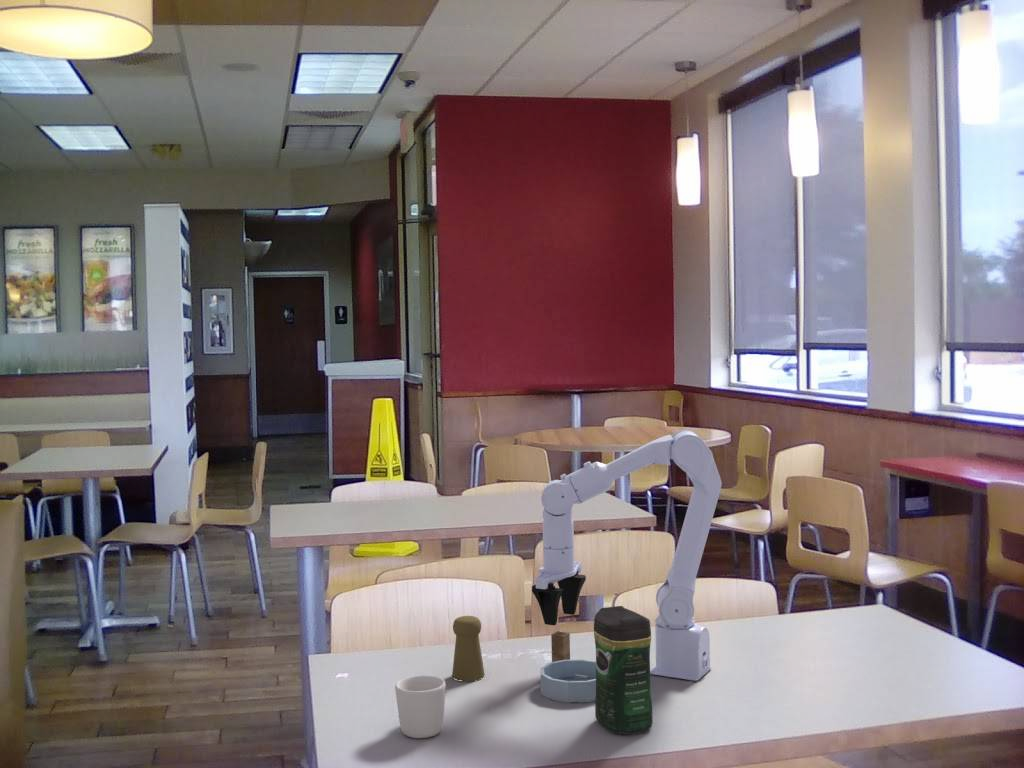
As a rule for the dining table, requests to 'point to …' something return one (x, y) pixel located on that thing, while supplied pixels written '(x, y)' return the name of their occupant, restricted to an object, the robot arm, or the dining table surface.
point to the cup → (421, 705)
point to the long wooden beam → (560, 646)
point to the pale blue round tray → (569, 680)
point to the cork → (467, 649)
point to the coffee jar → (623, 670)
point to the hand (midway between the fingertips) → (560, 619)
